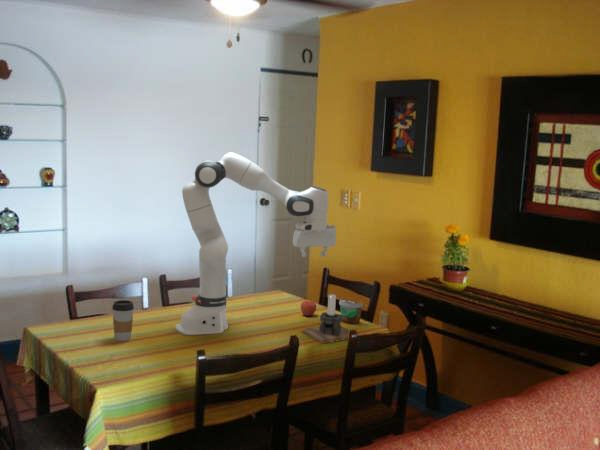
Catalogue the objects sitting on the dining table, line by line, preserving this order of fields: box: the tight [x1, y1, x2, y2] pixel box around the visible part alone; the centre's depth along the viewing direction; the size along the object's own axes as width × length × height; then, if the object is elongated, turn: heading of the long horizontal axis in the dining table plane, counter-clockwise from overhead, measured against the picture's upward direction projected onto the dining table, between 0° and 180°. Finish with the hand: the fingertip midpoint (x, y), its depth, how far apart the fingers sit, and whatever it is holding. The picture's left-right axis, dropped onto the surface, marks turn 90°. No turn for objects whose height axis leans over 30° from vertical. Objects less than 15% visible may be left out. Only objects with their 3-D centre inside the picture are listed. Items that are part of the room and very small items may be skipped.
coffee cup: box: [111, 299, 135, 342], centre depth 275 cm, size 8×8×15 cm
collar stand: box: [301, 311, 351, 344], centre depth 294 cm, size 18×16×8 cm
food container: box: [338, 297, 364, 325], centre depth 315 cm, size 12×6×10 cm, turn 47°
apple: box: [300, 300, 317, 317], centre depth 322 cm, size 7×7×8 cm
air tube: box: [326, 293, 337, 328], centre depth 294 cm, size 3×3×16 cm
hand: (313, 256), depth 297 cm, fingers open, 8 cm apart
